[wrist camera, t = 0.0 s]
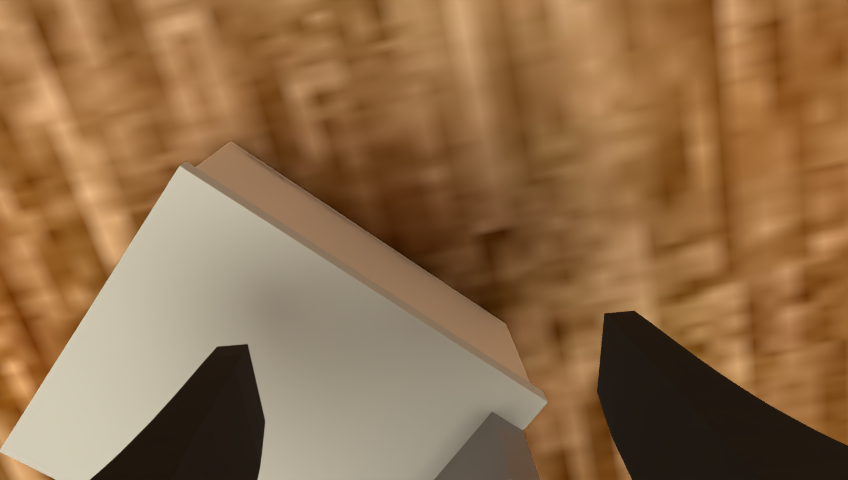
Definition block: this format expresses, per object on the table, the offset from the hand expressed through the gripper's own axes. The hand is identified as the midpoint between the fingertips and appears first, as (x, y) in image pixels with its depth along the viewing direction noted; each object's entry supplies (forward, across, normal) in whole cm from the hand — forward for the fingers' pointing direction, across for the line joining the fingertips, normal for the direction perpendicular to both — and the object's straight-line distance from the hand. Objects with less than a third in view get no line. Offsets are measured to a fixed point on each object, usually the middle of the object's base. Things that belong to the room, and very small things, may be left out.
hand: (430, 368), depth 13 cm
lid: (+5, +4, +5) cm, 8 cm away
